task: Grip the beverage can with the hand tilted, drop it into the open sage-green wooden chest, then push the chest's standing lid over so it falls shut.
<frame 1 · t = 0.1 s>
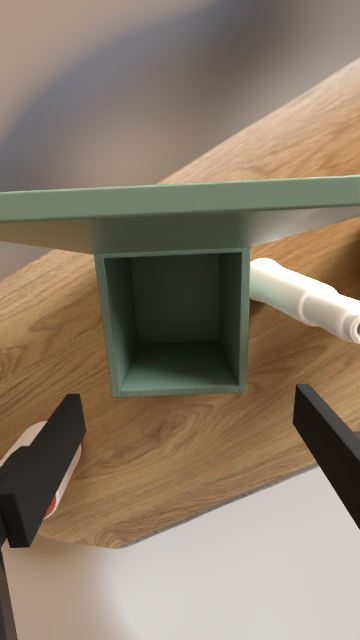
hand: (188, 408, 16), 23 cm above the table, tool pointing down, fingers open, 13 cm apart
cosmetic bottle: (260, 279, 37), on the table
lid: (167, 234, 15), point 22 cm above the table, hinge at 95.0°
cup: (55, 441, 45), on the table
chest: (177, 297, 38), on the table
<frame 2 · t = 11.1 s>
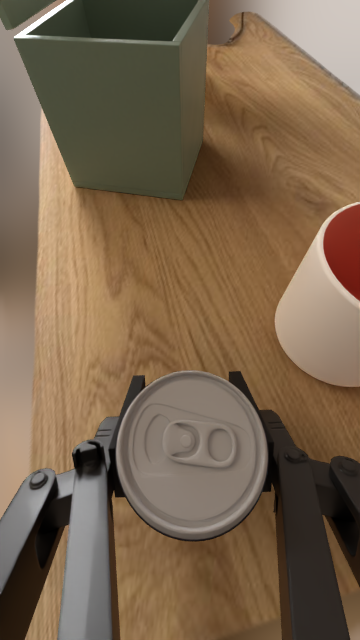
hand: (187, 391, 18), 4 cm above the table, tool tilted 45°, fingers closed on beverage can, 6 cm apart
beverage can: (189, 453, 19), on the table, touching gripper
cup: (327, 335, 24), on the table
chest: (142, 162, 37), on the table
when the fingers open (14 cm above the table, at t = 22.3 s): beverage can drops 9 cm, resting on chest.
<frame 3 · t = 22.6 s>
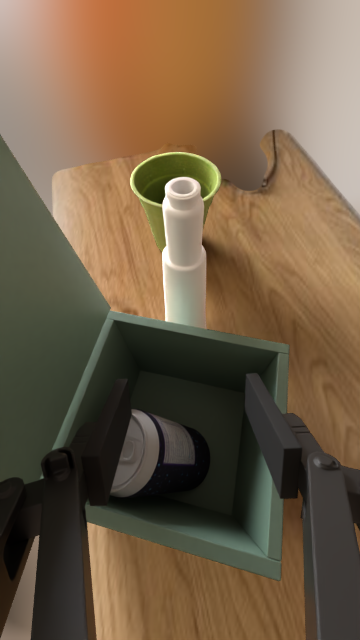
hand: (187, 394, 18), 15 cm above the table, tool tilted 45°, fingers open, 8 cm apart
plant pot: (178, 242, 44), on the table
beverage can: (187, 457, 27), point 2 cm above the table, touching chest, gripper
cosmetic bottle: (185, 337, 36), on the table
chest: (180, 434, 30), on the table
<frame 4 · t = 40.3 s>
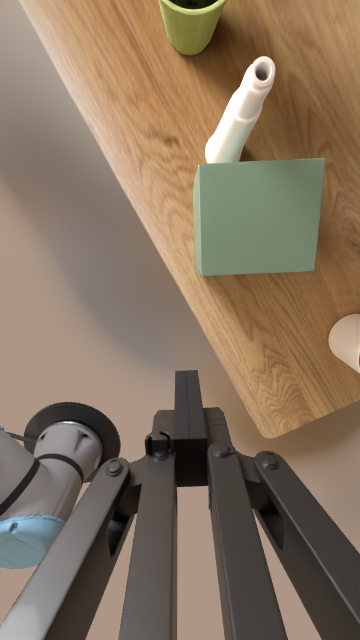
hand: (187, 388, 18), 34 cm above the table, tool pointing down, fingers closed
plant pot: (190, 27, 40), on the table
cosmetic bottle: (222, 152, 45), on the table
lid: (259, 220, 34), point 14 cm above the table, hinge at -0.1°
cup: (349, 335, 54), on the table
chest: (234, 227, 48), on the table
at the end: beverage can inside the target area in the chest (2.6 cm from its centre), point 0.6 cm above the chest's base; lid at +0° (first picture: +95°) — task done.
